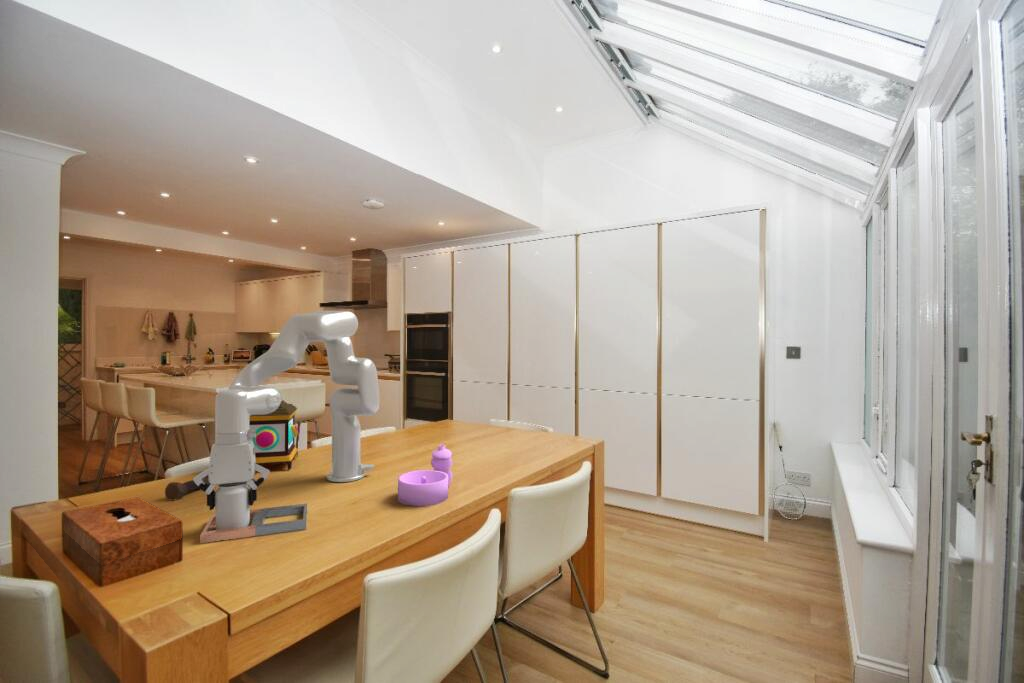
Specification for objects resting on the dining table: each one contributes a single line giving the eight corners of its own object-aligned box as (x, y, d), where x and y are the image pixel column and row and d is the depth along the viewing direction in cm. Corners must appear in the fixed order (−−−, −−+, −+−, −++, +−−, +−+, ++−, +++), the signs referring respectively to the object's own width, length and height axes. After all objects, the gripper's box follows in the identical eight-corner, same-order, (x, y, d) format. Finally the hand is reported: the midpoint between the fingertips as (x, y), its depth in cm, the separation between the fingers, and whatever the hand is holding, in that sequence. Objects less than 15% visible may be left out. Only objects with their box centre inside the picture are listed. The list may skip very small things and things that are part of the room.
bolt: (213, 490, 154) (173, 505, 139) (201, 482, 155) (161, 495, 140) (221, 475, 154) (183, 488, 139) (209, 467, 155) (170, 479, 140)
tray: (307, 510, 132) (307, 503, 132) (306, 529, 120) (306, 521, 119) (212, 521, 124) (212, 514, 124) (200, 543, 111) (200, 535, 111)
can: (214, 538, 114) (213, 489, 114) (217, 526, 121) (216, 480, 121) (249, 532, 118) (249, 484, 118) (250, 521, 124) (249, 476, 124)
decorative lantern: (246, 461, 183) (247, 385, 183) (301, 457, 189) (302, 384, 189) (232, 475, 164) (233, 390, 164) (294, 471, 170) (294, 389, 170)
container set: (435, 509, 135) (435, 463, 135) (388, 503, 139) (388, 459, 139) (466, 483, 159) (467, 444, 159) (425, 479, 163) (426, 441, 163)
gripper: (272, 432, 126) (271, 497, 126) (195, 437, 119) (195, 505, 119) (269, 438, 119) (269, 506, 119) (188, 444, 112) (188, 516, 112)
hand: (232, 505), depth 119 cm, fingers open, 8 cm apart
